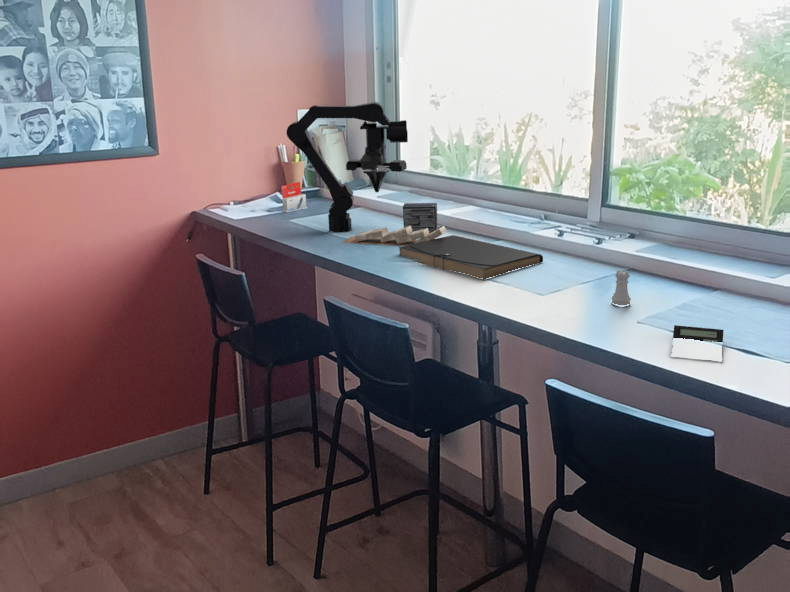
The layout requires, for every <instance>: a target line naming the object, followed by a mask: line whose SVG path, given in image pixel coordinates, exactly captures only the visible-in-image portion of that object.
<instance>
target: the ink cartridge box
mask: <svg viewBox="0 0 790 592" xmlns="http://www.w3.org/2000/svg"><path fill="white" fill-rule="evenodd" d="M280 187H281V197H282V212H283V213H291V212H294V211H295V212H296V211H299V210H301V209H305V208H307V195H306V194H305V193H302V187H301V182H300V181H296V182H293V183H288V184H285V185H281V186H280ZM290 187H293V188H290ZM289 188H290V189H289Z"/></svg>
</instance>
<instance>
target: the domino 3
mask: <svg viewBox="0 0 790 592" xmlns="http://www.w3.org/2000/svg"><path fill="white" fill-rule="evenodd" d="M428 234H429V230H428V228H426V229H422V230H418V231H414V232H411V233H409V234H408V235H405V236H402V237H399V238H396V240H397V244H401V243H404V242H408V241H412V240H419V239H421V238H424V237H426V236H427V235H428Z"/></svg>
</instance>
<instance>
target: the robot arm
mask: <svg viewBox="0 0 790 592" xmlns="http://www.w3.org/2000/svg"><path fill="white" fill-rule="evenodd" d="M384 112H385V111H384V108H383V105H381V103H380V102H377V101H372V102H367V103H366V102H365V103H362V104H357V105H317V104H313V105H311V106H310V107H309V108H308V111H307V112H306V113H305V114H303V116H302V117H301V118H300V119H299V120H298V121H293V122H292V123H290V124H289V126H288V127H287V129H286V137H287V139H289V141H291V143H293V145H294V146H295V147H297V149H299V150H300V151H302V153H304V156H305V157H306V158H307V159H308V161H309V163H310V164H311V165H312V167H313V168H314V169H315V172H316V173H317V174H318V175H319V177H320V178H321V180H322V182H323V183H324V184H325V185H326V187H327V189H328V191H329V194H330V196H331V199H332V201H333V203H332V204H331V205H330V207H329V209H328V214H327V215H328V216H327V217H328V231H327V232H326V233H327V234H328V233H330V232H332V233H349V232H352V227H353V226H352V218H351V217H350V216H351V215H350V213H349V212H348V211H349V210H350V209H352V207H353V205H354V195H353V194H354V191H353V190H351V188H350V187H349V184H348V183H347V182H344V184H343V183H342V182H341V181H339V179H338V178H337V176H336V175H335V174H334V173H333V171H332V170H331V168H330V166H328V164H327V162H326V161H325V159H324V158H323V157H322V155H321V153H320V152H319V151H318V149H317V147H316V146H315V144H314V143H313V140H312V138H311V135H310V132H309V131H308V129H309V128H310V126H312V125H313V123H314V122H315V121H316V120H317V119H356V120H361V121H364V122H363V123H362V125H360V127H359V129H360V130H365V136H366V137H365V140H366V146H365V149H364V153H363V155H362V157H361V158H359V159H358V158H356V159H354V158H353V159H349V160H348V161H346V163H345V170H346V171H357V169H358V168H359V169H361V170H362V173H363V174H365V175H367V176H368V178H369V180H370V181H371V185H372V187H373V190H374V191H375V193H379V192H380V189H381V187H382V184H383V181H384V178H385V176H386V174H387V173H388V172H389V173H390V171H391V172H404V171H405V170H407V167H408V166H407V165H408V164H407V162H406V160H404V159H402V160H400V159H393V160H392V161H389V162H387V158H386V152H385V151H386V150H385V149H386V147H387V145H385V130H386V140H388V141H389V143H391V144H392V143H393V144H395V143H396V144H398V143H402V144H403V143H408V142H409V141H408V139H409V138H408V135H409V133H408V132H409V131H408V129H407V120H406V119H405V120H404V119H403V120H397V121H396V120H393V121H391V120H389V117H387V115H386V114H385V113H384ZM368 122H369V123H368ZM377 124H380V125H377Z"/></svg>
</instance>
